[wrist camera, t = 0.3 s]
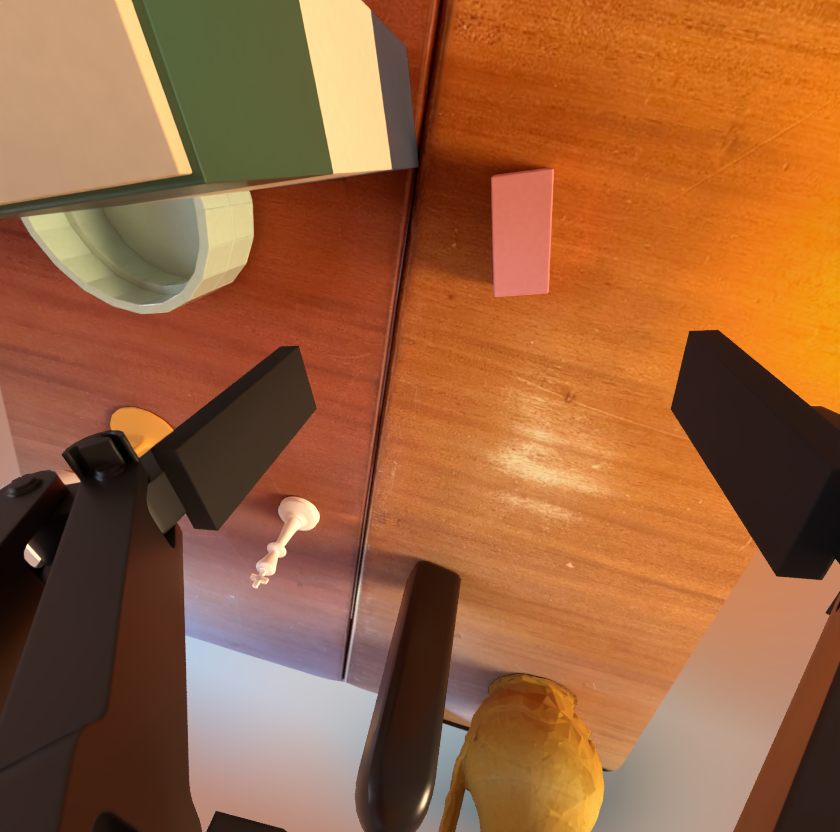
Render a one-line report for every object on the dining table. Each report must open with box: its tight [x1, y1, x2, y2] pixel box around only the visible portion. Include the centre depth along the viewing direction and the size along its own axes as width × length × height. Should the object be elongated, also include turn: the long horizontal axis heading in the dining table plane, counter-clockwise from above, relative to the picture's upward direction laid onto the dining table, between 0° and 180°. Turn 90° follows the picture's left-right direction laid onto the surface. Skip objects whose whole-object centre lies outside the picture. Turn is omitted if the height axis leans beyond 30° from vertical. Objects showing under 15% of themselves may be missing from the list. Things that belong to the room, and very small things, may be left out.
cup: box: [0, 407, 173, 567], centre depth 39 cm, size 9×9×16 cm
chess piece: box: [250, 496, 320, 588], centre depth 43 cm, size 5×5×10 cm
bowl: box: [20, 191, 254, 314], centre depth 28 cm, size 14×14×6 cm
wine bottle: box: [355, 561, 461, 832], centre depth 37 cm, size 6×6×30 cm
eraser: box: [491, 168, 554, 297], centre depth 26 cm, size 7×4×3 cm, turn 7°
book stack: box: [0, 0, 419, 220], centre depth 17 cm, size 6×9×22 cm, turn 97°
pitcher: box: [439, 673, 604, 832], centre depth 49 cm, size 17×19×25 cm
